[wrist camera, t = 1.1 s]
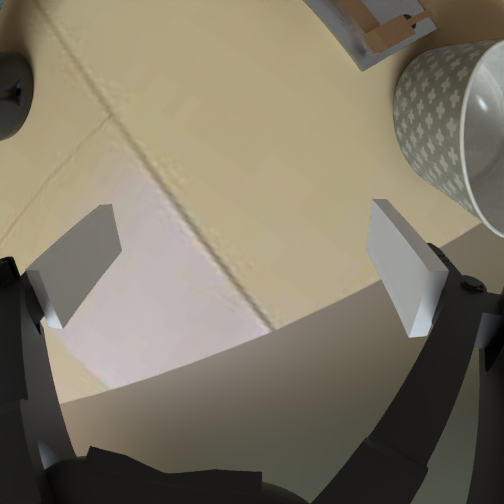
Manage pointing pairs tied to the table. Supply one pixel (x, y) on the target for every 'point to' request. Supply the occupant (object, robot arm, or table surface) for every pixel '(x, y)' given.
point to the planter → (457, 124)
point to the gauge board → (381, 16)
